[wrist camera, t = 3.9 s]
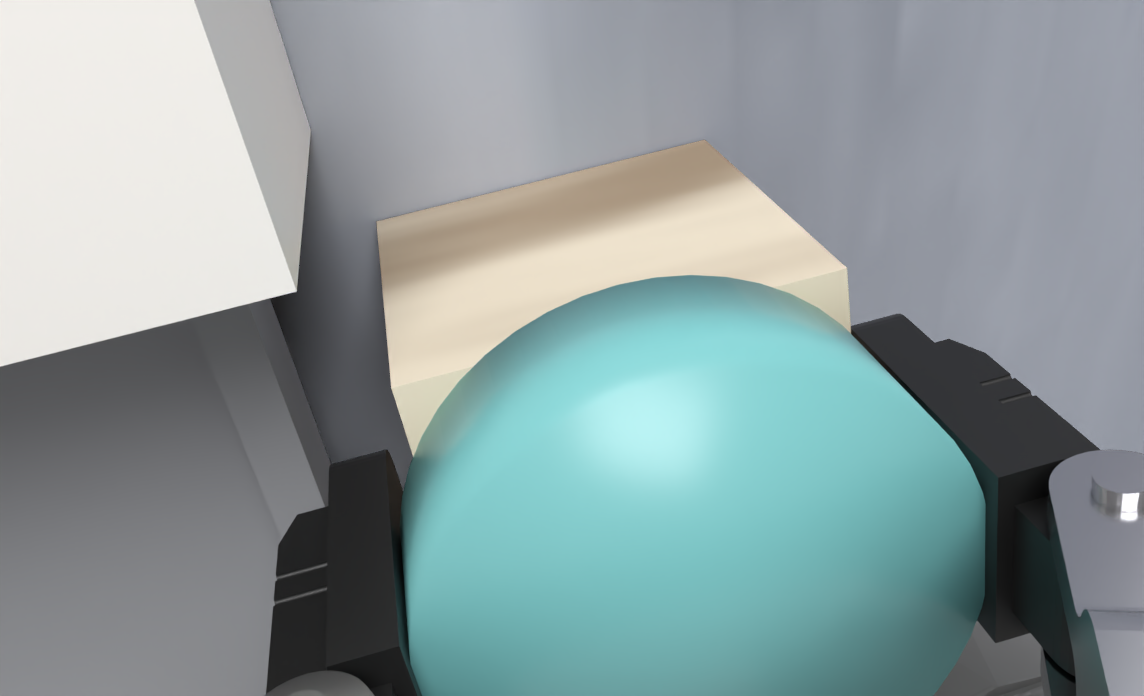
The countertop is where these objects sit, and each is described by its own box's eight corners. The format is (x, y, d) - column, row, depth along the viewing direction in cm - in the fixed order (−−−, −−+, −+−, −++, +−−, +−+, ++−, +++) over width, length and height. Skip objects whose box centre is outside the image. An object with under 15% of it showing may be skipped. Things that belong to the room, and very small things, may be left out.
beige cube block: (376, 221, 15) (391, 387, 11) (704, 139, 16) (846, 267, 11) (457, 493, 18) (496, 719, 13) (740, 416, 18) (868, 610, 14)
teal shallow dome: (331, 357, 10) (330, 468, 9) (892, 214, 11) (995, 290, 9) (469, 755, 13) (487, 898, 12) (907, 628, 14) (988, 745, 12)
